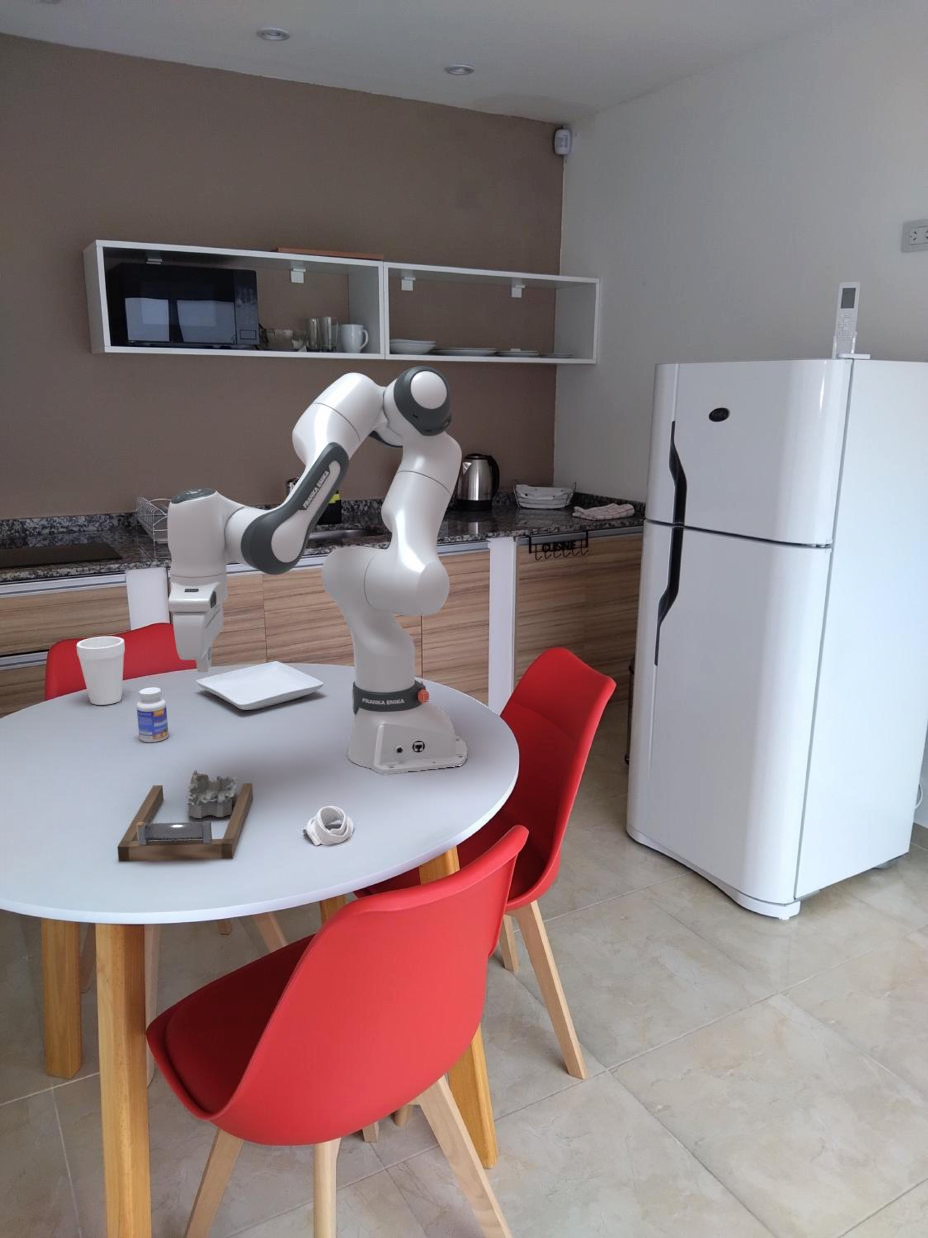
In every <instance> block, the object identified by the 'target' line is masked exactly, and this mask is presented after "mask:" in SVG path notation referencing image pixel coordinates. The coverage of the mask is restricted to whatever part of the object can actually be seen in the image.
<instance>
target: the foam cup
mask: <svg viewBox="0 0 928 1238" xmlns="http://www.w3.org/2000/svg"><path fill="white" fill-rule="evenodd" d="M125 646H126V645H125V639H124V638H121V637H118V636H111V635H110V636H105V635H104V636H96V637H94V636H93V637H89V638H85V639H83V640H80V641H78V642H77V644H76V652H77V653H76V654H77V656H78V660H79V662H80V666H81V671H82V674H83V678H84V682H85V686H86V691H87V695H88V697H89V702H90V703H91V704H93V705H97V706H98V705H99V706H103V705H104V706H105V705H112V704H114V703H119V702H120V701H121V700H122V696H123V695H122V694H123V693H122V692H123V678H124V677H123V674H124V657H125V655H124V654H125V651H126V648H125Z"/></svg>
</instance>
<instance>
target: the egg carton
mask: <svg viewBox="0 0 928 1238" xmlns="http://www.w3.org/2000/svg"><path fill="white" fill-rule="evenodd" d="M215 778H216V779H212V780H211V779H210V778H209V776H208V774H207V773H200V772H199V773H198V771H197V770H194V771H193V772H192V775H191V778H190V779H191V780H190V783H189V786H188V789H187V792H186V795H185V796H186V805H187V808H188V810H187V816H190V817H193V818H196V819H198V818H199V819H202V818H203V817H206V816H212V817H213V816H215V817H216V818H223V817H225V816H231V815H232V812H233V804H234V797H235V793H236V792H235V791H236V789H237V786H238V779H239V778H238V777H237V776H234V777H231V776H228V775H227V776H226V777H221V776H220V775H217V776H216V777H215Z"/></svg>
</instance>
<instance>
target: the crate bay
mask: <svg viewBox="0 0 928 1238" xmlns="http://www.w3.org/2000/svg"><path fill="white" fill-rule="evenodd" d="M163 787H164V786H163V784H162V785H161V784H160V785H158V784H157V785H156V784H155V785H152V787H151V788H150V790H149V791H148V794H147V795H146V797H145V798H144V800H143V802H142V804H141V805H140V807H139V809H138V811H137V812H136V814H135V816H134V818H133V819H132V821H131V823H130V824H129V826H128V828H127V830H126V831H125V833H124V834H123V836H122V838H121V839H120V841H119V844H118V845H117V847H116V848H117V859H118V863H119V862H147V861H148V862H151V861H153V862H154V861H155V862H157V861H186V860H187V861H190V860H191V861H192V860H193V861H194V860H230V859H231V860H232V859H233V858H234V855H235V852H236V850H237V847H238V843H239V841H240V837H241V835H242V832H243V829H244V826H245V823H246V820H247V817H248V814H249V812H250V808H251V805H252V802H253V799H254V793H253V791H254V790H253V782H248V783H247V782H243V783H242V785H241V788H240V790H239V793H238V796H237V799H236V801H235V804H234V807H233V808H232V814H231V815H230V818H229V819H228V820H229V821H228V824H227V827H226V829H225V832H224V835H223V837H222V838H212V841H211V844H203V839H188V840H153V841H149V842H148V843H147V845H146V846H139V840H138V837H137V826H136V825H137V823H138V822H144V823H145V822H147V823H152V822H153V820H154V819H155V816H156V814H157V813H158V812H159V809H160V807H161V806H162V804H163V803H164V801H165V799H164V798H165V797H164V790H163V789H164V788H163Z"/></svg>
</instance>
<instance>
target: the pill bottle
mask: <svg viewBox="0 0 928 1238" xmlns="http://www.w3.org/2000/svg"><path fill="white" fill-rule="evenodd" d="M138 694H139V695H138V696H139V701H138V702H137V704H136V714H137V715H136V716H137V717H136V718H137V725H138V738H139V739H140V740H141V742H145V743H156V742H157V743H158V742H161V741H164V740H166V739H167V738H168V737H169V726H168V724H169V722H168V711H167V702H166V700H165V699H163V698H162V689H161V688H159V687H156V686H155V687H146V688H143V689H141V690H139V691H138Z"/></svg>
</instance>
